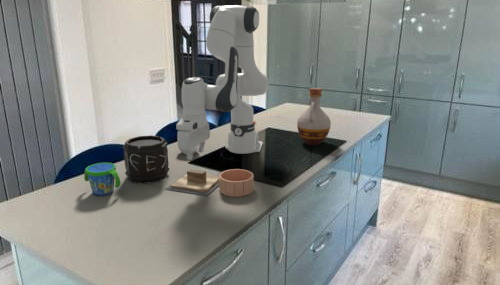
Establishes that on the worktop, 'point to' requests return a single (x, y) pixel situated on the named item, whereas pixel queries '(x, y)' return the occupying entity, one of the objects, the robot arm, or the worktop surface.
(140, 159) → the wooden barrel
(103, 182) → the snack cup
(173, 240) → the worktop surface
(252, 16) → the robot arm
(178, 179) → the mat
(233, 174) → the bowl
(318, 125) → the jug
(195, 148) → the lidded jar
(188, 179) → the lid
